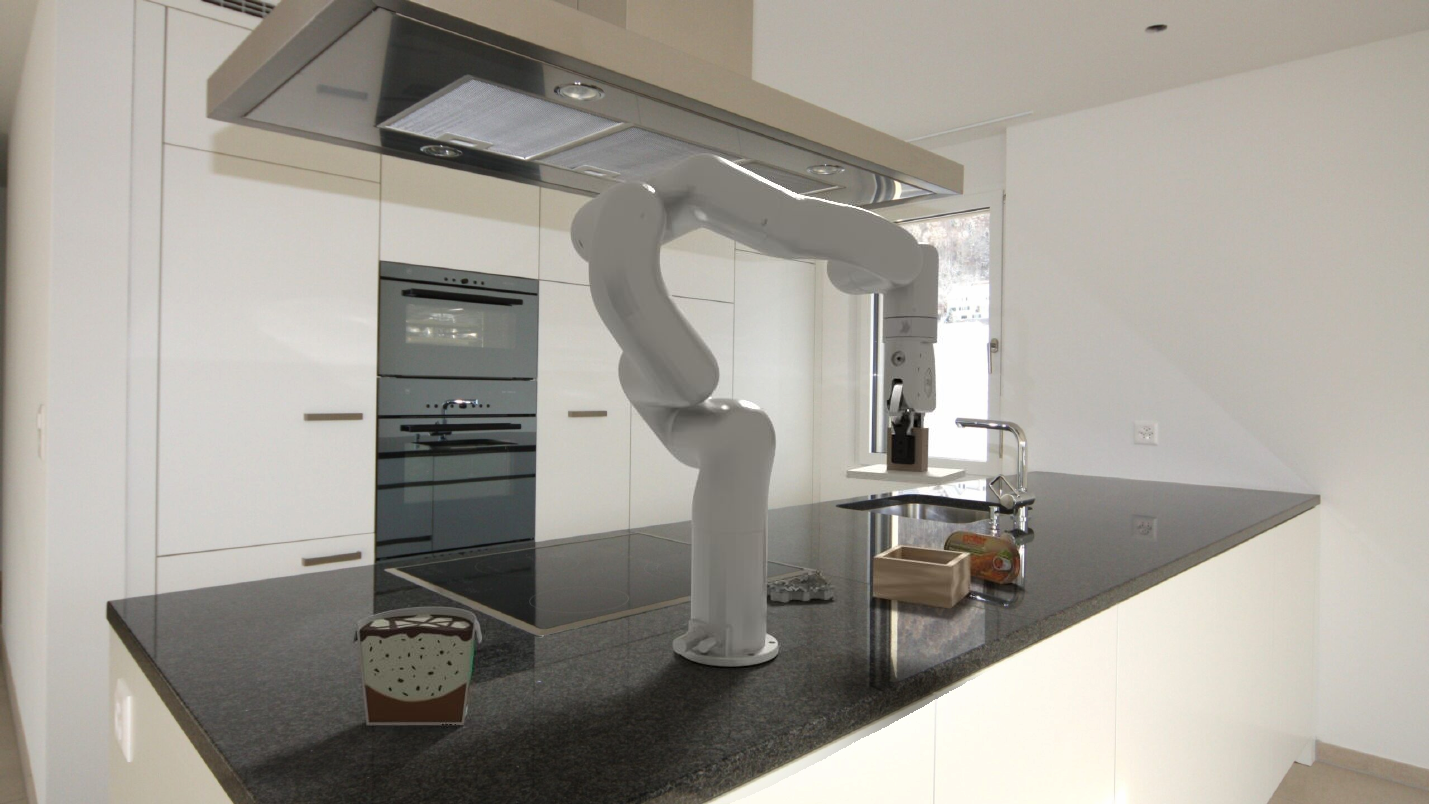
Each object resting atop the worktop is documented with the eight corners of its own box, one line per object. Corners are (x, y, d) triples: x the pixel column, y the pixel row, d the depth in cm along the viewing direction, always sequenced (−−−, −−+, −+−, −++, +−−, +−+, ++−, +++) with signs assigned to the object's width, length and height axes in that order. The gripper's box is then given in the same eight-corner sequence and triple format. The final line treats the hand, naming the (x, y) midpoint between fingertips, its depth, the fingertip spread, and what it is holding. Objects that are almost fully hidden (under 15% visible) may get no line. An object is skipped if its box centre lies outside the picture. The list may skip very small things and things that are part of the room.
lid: (940, 484, 104) (941, 430, 104) (846, 477, 111) (847, 427, 111) (965, 476, 115) (966, 428, 115) (878, 470, 122) (879, 424, 122)
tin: (941, 573, 146) (942, 527, 146) (953, 571, 147) (954, 526, 147) (1010, 592, 133) (1011, 541, 133) (1023, 589, 135) (1024, 539, 134)
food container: (494, 700, 84) (495, 605, 84) (479, 725, 78) (480, 622, 78) (375, 700, 84) (376, 604, 83) (350, 725, 77) (351, 621, 77)
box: (950, 613, 119) (951, 566, 119) (872, 601, 125) (873, 557, 125) (970, 596, 129) (970, 553, 129) (897, 586, 136) (898, 544, 135)
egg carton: (822, 595, 130) (822, 569, 130) (839, 607, 123) (839, 580, 123) (758, 597, 128) (759, 571, 128) (772, 609, 121) (772, 582, 121)
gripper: (918, 327, 104) (915, 468, 104) (951, 336, 118) (949, 460, 118) (863, 328, 108) (861, 465, 108) (901, 337, 122) (899, 458, 122)
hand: (907, 461), depth 113 cm, fingers closed on lid, 3 cm apart
